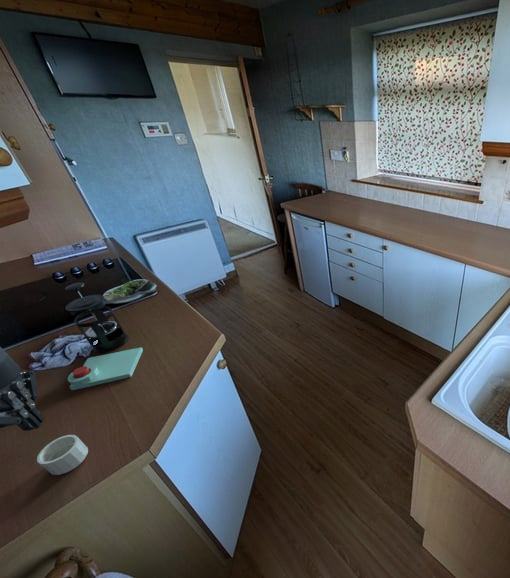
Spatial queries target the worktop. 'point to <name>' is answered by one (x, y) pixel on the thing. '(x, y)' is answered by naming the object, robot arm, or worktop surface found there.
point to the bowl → (62, 454)
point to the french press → (97, 321)
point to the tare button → (81, 372)
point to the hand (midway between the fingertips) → (35, 425)
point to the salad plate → (130, 291)
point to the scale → (107, 368)
